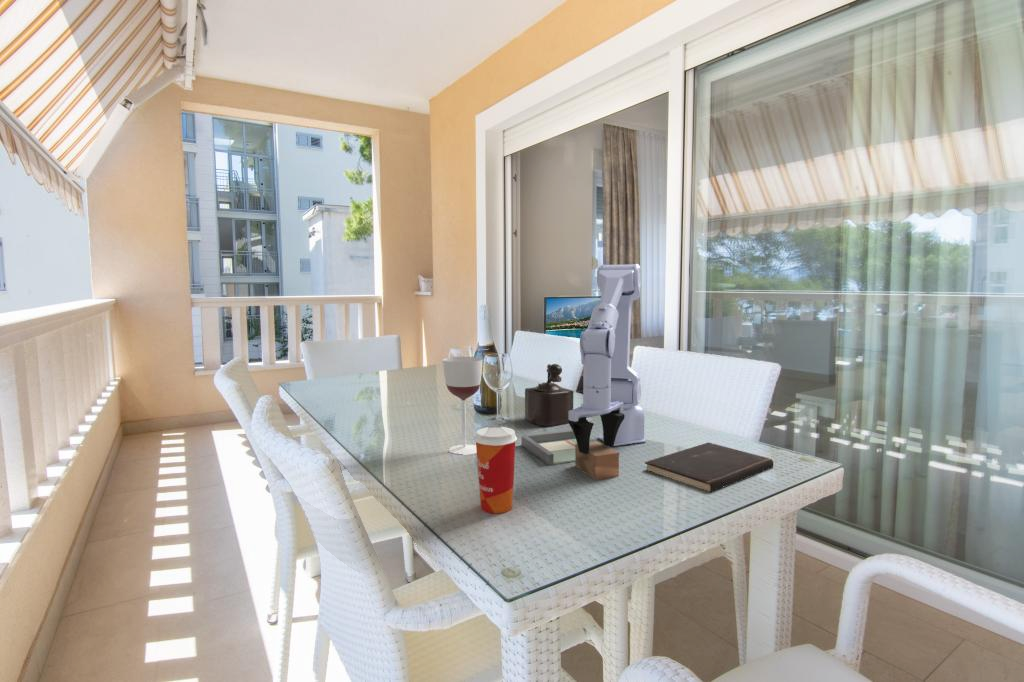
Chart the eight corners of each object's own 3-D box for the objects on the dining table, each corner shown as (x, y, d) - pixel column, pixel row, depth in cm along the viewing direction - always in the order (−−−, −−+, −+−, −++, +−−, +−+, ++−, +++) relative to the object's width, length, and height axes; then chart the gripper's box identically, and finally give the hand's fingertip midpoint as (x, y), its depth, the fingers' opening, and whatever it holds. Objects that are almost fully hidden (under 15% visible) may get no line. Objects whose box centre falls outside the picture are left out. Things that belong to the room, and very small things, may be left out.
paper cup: (474, 499, 103) (473, 426, 101) (515, 498, 104) (515, 425, 102) (475, 517, 95) (474, 438, 94) (520, 515, 96) (519, 437, 94)
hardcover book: (644, 472, 118) (644, 461, 118) (707, 451, 132) (708, 442, 132) (710, 495, 105) (711, 483, 105) (773, 469, 119) (773, 459, 119)
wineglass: (469, 457, 127) (468, 363, 125) (437, 451, 132) (435, 360, 130) (491, 447, 135) (489, 358, 132) (459, 442, 140) (457, 355, 137)
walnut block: (575, 466, 121) (575, 443, 121) (597, 462, 123) (597, 441, 122) (595, 479, 113) (595, 456, 112) (618, 476, 115) (618, 452, 114)
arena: (579, 437, 142) (579, 428, 142) (611, 456, 127) (612, 446, 127) (521, 445, 136) (521, 435, 136) (548, 465, 122) (548, 454, 121)
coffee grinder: (521, 420, 161) (521, 358, 159) (553, 415, 166) (552, 355, 164) (553, 432, 148) (552, 365, 146) (585, 426, 153) (585, 362, 151)
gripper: (606, 379, 123) (606, 438, 125) (558, 387, 115) (558, 451, 116) (631, 383, 118) (630, 445, 119) (582, 392, 109) (582, 459, 111)
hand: (596, 449), depth 117 cm, fingers open, 7 cm apart
